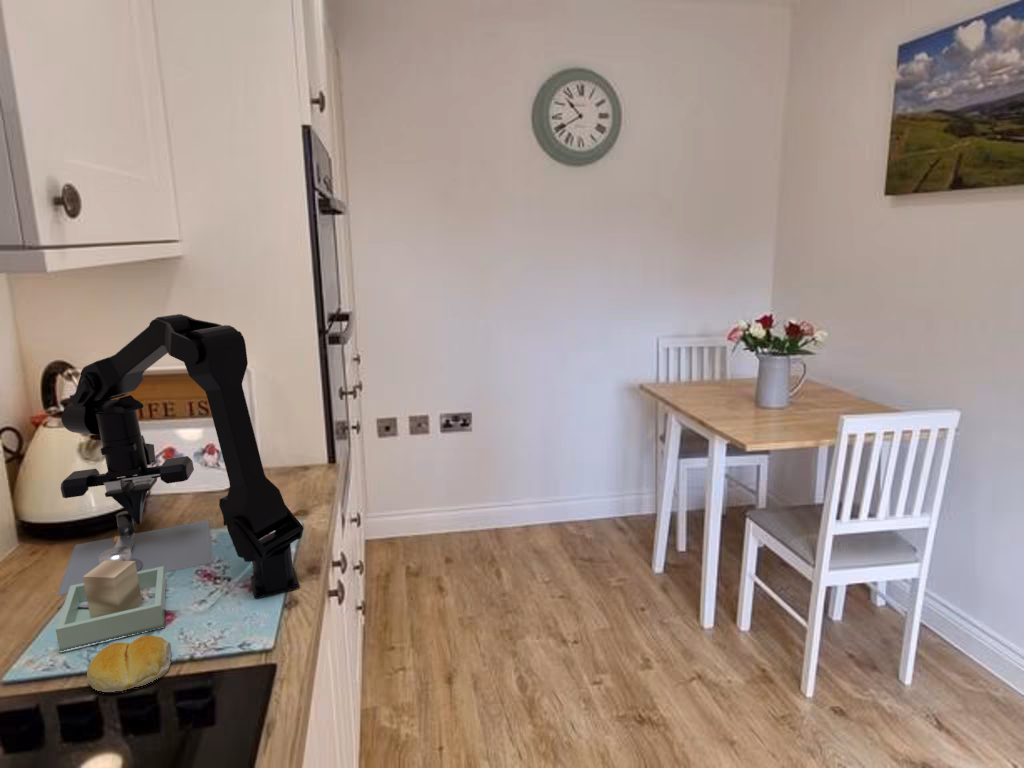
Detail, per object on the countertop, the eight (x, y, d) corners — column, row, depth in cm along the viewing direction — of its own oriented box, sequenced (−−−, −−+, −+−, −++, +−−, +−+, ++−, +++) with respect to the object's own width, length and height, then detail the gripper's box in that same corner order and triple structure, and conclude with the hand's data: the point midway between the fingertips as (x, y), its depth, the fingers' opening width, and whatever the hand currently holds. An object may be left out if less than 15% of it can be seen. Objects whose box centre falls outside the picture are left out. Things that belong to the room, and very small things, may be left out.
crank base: (212, 568, 106) (211, 560, 105) (57, 601, 97) (56, 593, 97) (209, 524, 122) (208, 517, 121) (76, 550, 113) (74, 542, 113)
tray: (164, 628, 90) (160, 605, 89) (60, 653, 85) (55, 629, 84) (166, 586, 100) (163, 566, 100) (74, 607, 95) (70, 585, 95)
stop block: (142, 605, 95) (135, 561, 93) (122, 623, 90) (114, 577, 89) (113, 604, 95) (105, 560, 93) (91, 622, 91) (82, 576, 89)
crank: (130, 571, 102) (125, 542, 101) (98, 577, 101) (92, 547, 99) (144, 535, 114) (139, 508, 113) (115, 539, 113) (110, 513, 112)
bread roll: (96, 664, 83) (90, 636, 82) (174, 646, 86) (170, 619, 85) (81, 706, 76) (75, 676, 75) (167, 685, 79) (163, 656, 78)
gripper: (192, 416, 118) (206, 497, 122) (76, 430, 114) (94, 514, 117) (178, 433, 108) (194, 521, 111) (49, 449, 103) (71, 540, 107)
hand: (139, 523), depth 112 cm, fingers closed
